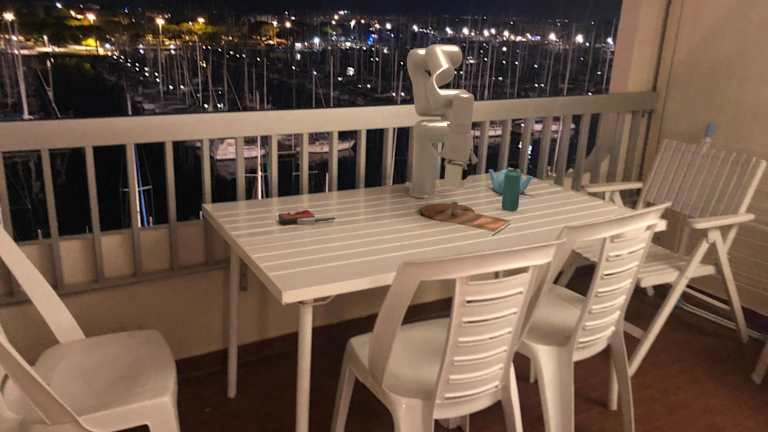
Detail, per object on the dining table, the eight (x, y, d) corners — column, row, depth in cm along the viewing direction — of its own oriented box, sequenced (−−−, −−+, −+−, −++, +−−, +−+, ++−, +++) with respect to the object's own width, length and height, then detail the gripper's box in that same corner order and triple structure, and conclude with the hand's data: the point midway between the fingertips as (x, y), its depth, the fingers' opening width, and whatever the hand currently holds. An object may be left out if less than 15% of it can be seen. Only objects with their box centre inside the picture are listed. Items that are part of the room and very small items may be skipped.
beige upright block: (444, 185, 219) (445, 164, 216) (451, 182, 224) (453, 161, 221) (459, 188, 216) (461, 167, 214) (466, 185, 221) (468, 164, 218)
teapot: (485, 187, 270) (487, 163, 267) (517, 186, 273) (519, 163, 270) (497, 196, 256) (500, 172, 253) (531, 196, 259) (534, 171, 256)
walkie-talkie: (281, 228, 207) (336, 223, 215) (281, 216, 206) (336, 211, 214) (274, 221, 214) (328, 215, 223) (274, 209, 213) (328, 204, 221)
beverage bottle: (517, 215, 231) (523, 164, 225) (500, 214, 232) (505, 163, 226) (517, 210, 237) (523, 160, 231) (500, 209, 238) (505, 159, 232)
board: (431, 221, 219) (432, 204, 217) (451, 211, 232) (452, 195, 230) (493, 235, 207) (494, 217, 205) (510, 224, 220) (512, 207, 218)
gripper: (433, 126, 214) (430, 175, 220) (478, 133, 206) (473, 184, 212) (443, 123, 220) (439, 171, 226) (487, 130, 212) (482, 179, 218)
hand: (456, 177), depth 219 cm, fingers closed on beige upright block, 6 cm apart
